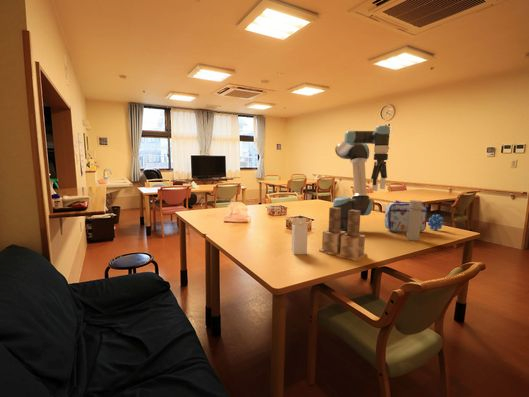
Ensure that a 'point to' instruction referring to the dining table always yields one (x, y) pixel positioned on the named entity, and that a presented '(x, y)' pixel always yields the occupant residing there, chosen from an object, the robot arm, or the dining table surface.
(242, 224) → the dining table surface
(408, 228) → the tall beige block
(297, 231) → the milk carton
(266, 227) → the dining table surface
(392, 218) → the lunch box
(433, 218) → the blue bumpy wheel
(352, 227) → the right post
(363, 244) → the stand
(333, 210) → the left post
